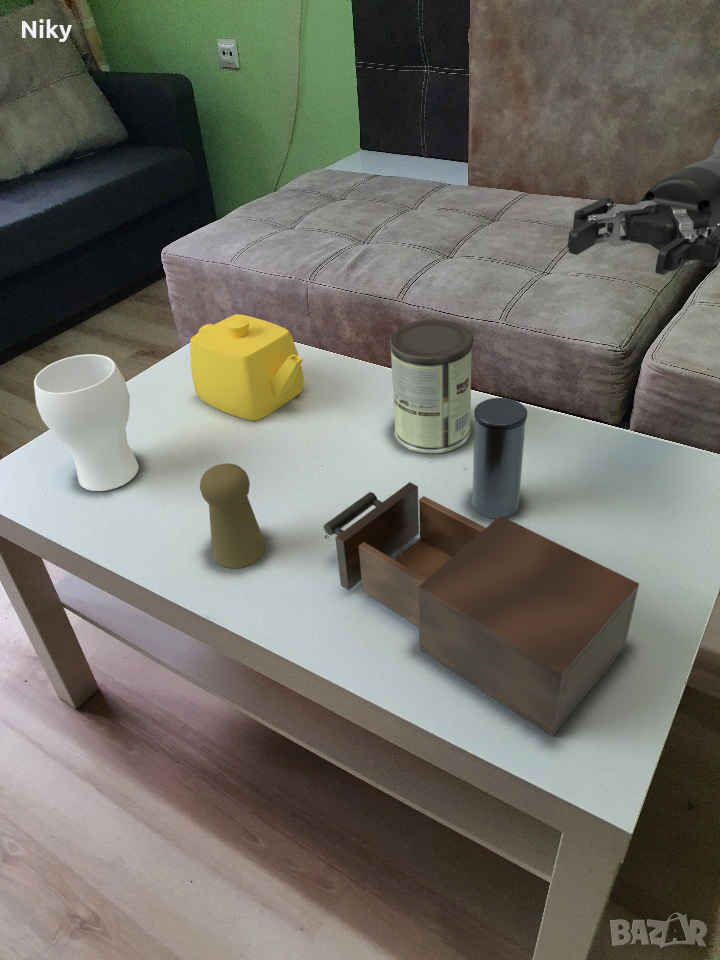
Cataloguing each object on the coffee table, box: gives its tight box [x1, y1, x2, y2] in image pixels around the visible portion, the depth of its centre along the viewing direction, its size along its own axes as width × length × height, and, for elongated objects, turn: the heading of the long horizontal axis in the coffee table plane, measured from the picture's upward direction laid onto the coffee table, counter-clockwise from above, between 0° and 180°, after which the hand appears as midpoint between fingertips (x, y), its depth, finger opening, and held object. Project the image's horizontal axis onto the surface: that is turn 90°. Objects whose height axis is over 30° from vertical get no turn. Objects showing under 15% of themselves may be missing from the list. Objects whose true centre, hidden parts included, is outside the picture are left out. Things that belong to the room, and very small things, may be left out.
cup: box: [33, 353, 139, 492], centre depth 94 cm, size 11×11×15 cm
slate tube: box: [471, 397, 528, 520], centre depth 85 cm, size 6×6×13 cm
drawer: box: [323, 482, 487, 628], centre depth 77 cm, size 18×11×7 cm, turn 47°
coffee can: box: [388, 319, 474, 454], centre depth 97 cm, size 10×10×14 cm
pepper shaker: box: [199, 463, 267, 569], centre depth 82 cm, size 6×6×11 cm
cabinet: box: [418, 516, 640, 737], centre depth 69 cm, size 15×13×9 cm
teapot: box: [190, 313, 304, 422], centre depth 108 cm, size 20×12×12 cm, turn 51°
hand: (615, 253), depth 68 cm, fingers open, 8 cm apart
